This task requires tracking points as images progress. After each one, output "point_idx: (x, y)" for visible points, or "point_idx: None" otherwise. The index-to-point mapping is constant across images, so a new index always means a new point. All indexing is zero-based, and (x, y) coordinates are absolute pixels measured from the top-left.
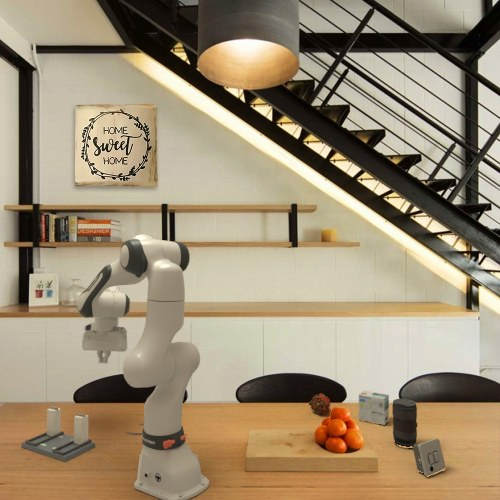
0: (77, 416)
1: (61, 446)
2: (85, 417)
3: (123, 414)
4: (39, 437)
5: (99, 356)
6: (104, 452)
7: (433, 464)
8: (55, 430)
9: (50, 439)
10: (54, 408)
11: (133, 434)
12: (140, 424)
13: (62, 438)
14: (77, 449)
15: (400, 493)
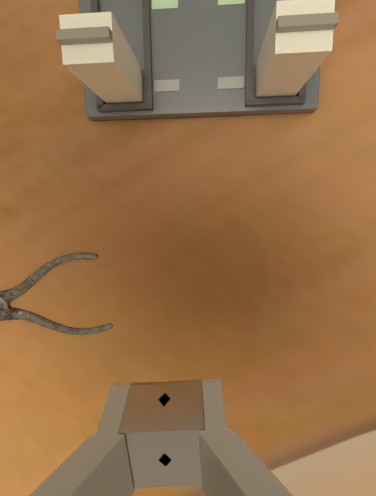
0: (97, 22)
1: (142, 9)
2: (62, 45)
3: (223, 368)
4: None
5: (219, 460)
6: (37, 109)
7: None
8: (258, 64)
9: (246, 42)
10: (295, 16)
11: (65, 256)
12: (104, 325)
13: (216, 77)
14: None
15: None
